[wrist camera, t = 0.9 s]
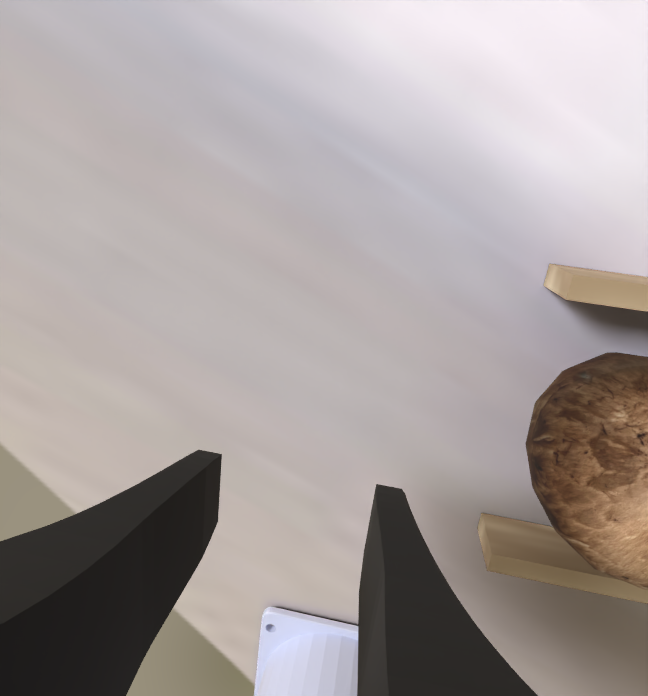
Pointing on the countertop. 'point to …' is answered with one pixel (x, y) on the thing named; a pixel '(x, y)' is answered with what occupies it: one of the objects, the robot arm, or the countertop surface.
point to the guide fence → (543, 541)
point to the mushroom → (596, 462)
